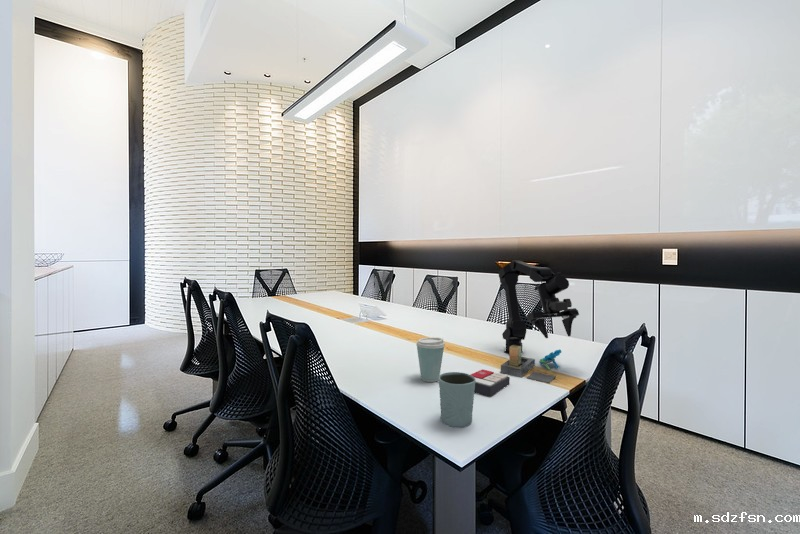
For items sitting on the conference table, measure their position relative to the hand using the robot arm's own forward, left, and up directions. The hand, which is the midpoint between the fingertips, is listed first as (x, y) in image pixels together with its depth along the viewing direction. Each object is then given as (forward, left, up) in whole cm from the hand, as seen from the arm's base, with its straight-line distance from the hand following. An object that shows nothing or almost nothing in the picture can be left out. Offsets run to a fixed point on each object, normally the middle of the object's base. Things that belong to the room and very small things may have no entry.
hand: (558, 337), depth 134 cm
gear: (-5, +9, -15) cm, 18 cm away
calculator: (-17, -27, -15) cm, 35 cm away
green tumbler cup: (-13, -55, -15) cm, 59 cm away
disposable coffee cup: (-36, -33, -15) cm, 51 cm away
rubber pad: (-4, -7, -14) cm, 17 cm away
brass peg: (-14, -7, -14) cm, 21 cm away
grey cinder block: (-14, -3, -14) cm, 20 cm away
